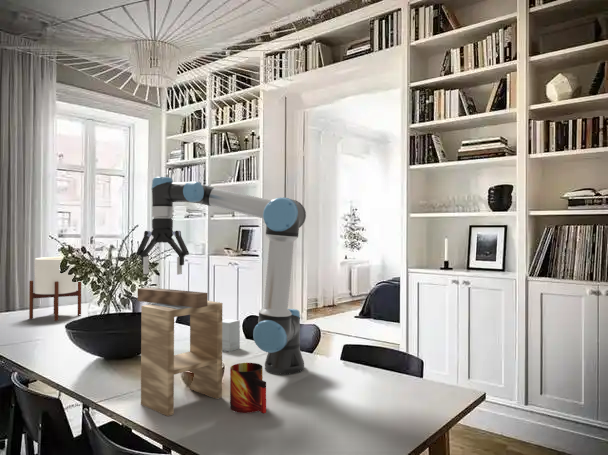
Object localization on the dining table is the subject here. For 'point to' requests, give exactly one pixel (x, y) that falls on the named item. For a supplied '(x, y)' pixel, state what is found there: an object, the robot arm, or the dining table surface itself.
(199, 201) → the robot arm
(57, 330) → the dining table surface
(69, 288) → the plant pot with stand
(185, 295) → the walnut rod
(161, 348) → the oak stand
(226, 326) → the supplement box
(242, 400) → the mug
